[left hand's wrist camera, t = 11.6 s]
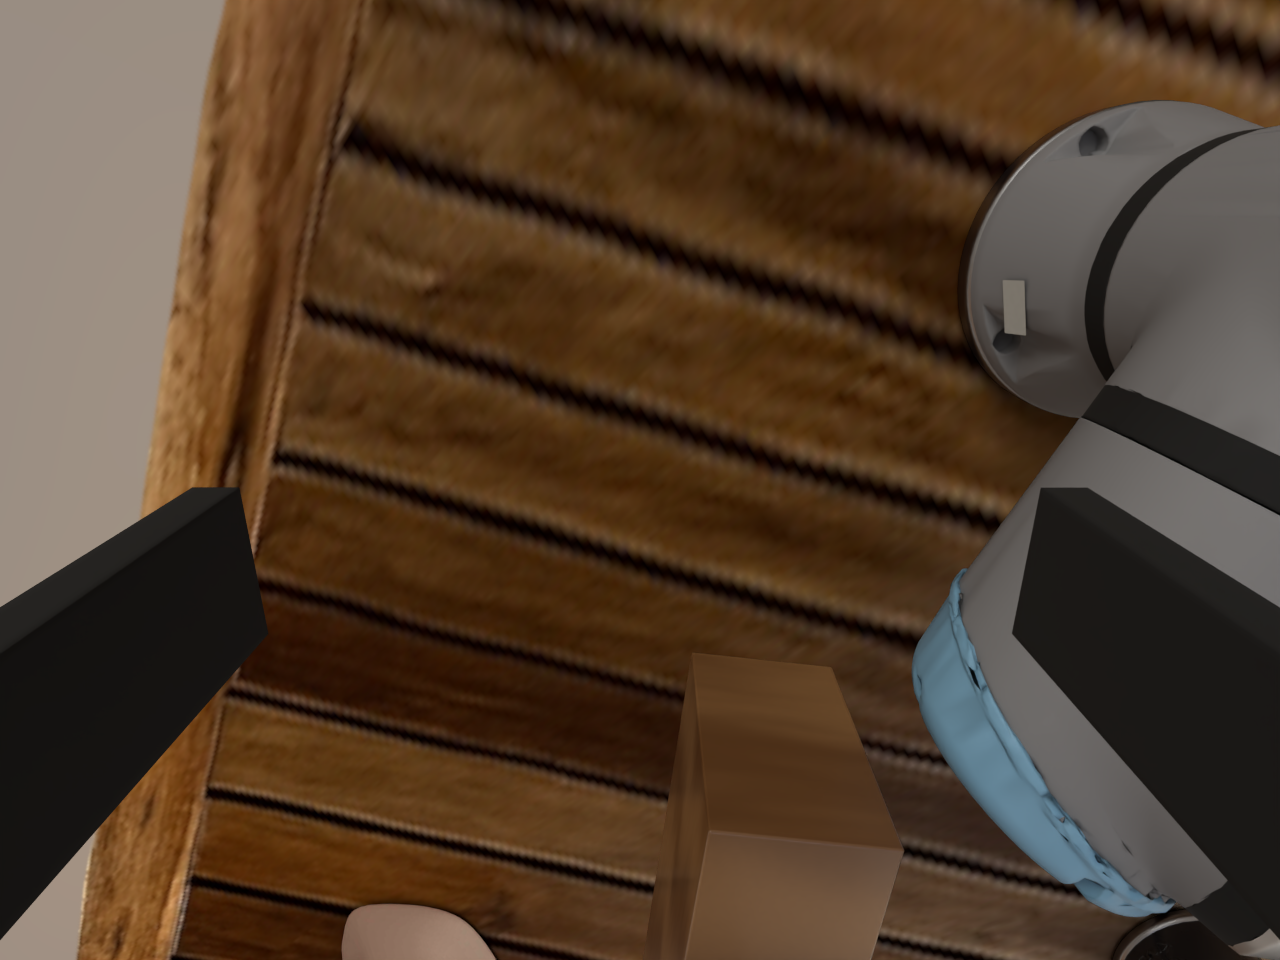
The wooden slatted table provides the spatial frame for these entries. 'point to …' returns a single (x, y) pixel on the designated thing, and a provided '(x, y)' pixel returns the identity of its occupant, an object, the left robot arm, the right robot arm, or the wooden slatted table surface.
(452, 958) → the anatomical model
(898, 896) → the wooden slatted table surface
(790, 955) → the bar
